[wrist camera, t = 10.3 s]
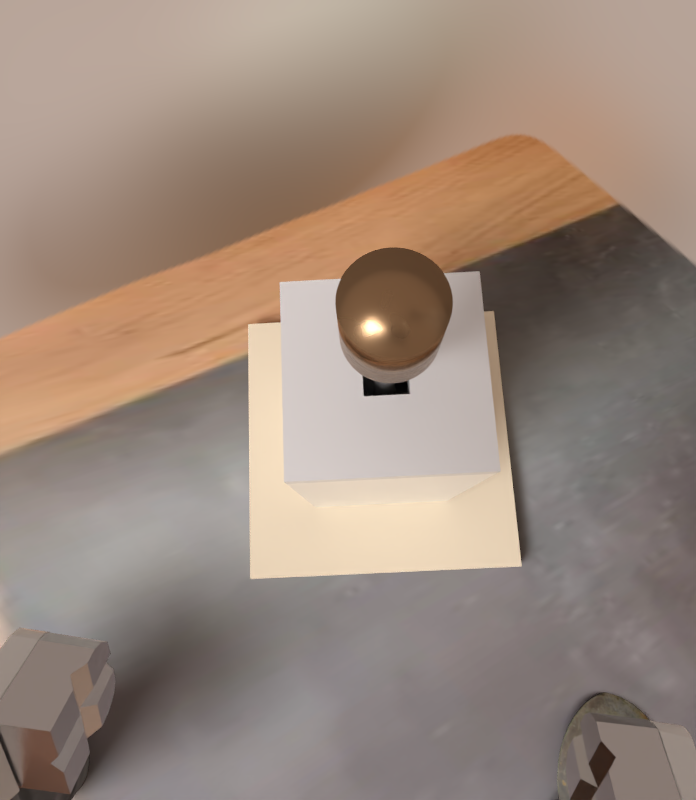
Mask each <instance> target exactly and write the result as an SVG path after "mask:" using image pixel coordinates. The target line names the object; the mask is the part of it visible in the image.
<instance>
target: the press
mask: <svg viewBox="0 0 696 800" xmlns="http://www.w3.org/2000/svg"><path fill="white" fill-rule="evenodd" d="M444 275H445V276H446V278H447V280H448V282H449V284H450V288H451V291H452V297H453V308H452V314H451V318H450V321H449V324H448V326H447V329H446V332H445V334H444V337H443V340H442V342H441V345H440V348H439V350H438V353H437V355H436V357H435V359H434V361H433V362H432V363H431V365H430V366H429V367H428V368H427V369H426V370H425V371H424V372H422V373H421V374H420V375H418V376H416V377H415V378H413V379H410V380H408V393H409V394H399V395H380V396H364V394H363V375H361V374H360V373H358V372H357V371H356V370H355V369H354V368H353V367H352V366H351V365H350V364H349V362H348V361H347V359H346V358H345V356H344V354H343V351H342V349H341V345H340V339H339V330H338V322H337V314H336V305H335V300H336V292H337V288H338V285H339V282H340V280H341V279H329V280H311V281H292V282H280V314H281V322H279V323H261V324H248V357H249V482H250V579H260V578H281V577H303V576H324V575H346V574H367V573H388V572H410V571H431V570H453V569H474V568H496V567H517V566H522V565H521V556H520V546H519V537H518V528H517V519H516V510H515V501H514V491H513V482H512V473H511V464H510V455H509V446H508V436H507V427H506V418H505V409H504V400H503V391H502V381H501V372H500V363H499V354H498V345H497V336H496V327H495V317H494V311H486V312H484V309H483V299H482V289H481V280H480V271H477V272H458V273H444Z"/></svg>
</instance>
